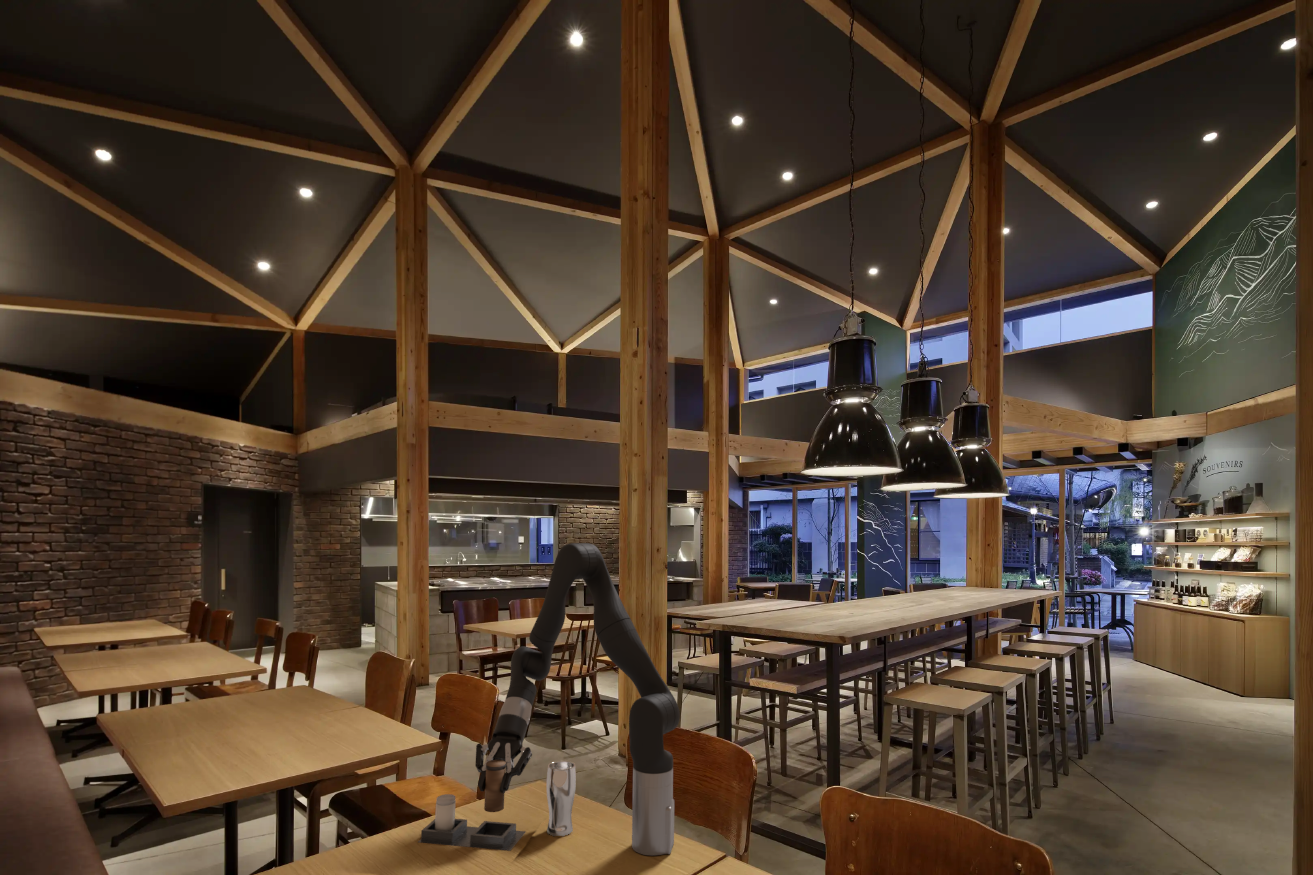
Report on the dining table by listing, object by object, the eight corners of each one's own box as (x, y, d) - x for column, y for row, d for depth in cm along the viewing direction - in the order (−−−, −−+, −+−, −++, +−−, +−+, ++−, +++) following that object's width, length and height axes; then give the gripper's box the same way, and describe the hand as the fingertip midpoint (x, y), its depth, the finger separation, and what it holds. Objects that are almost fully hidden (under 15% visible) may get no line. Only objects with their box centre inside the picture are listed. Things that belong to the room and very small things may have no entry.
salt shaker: (457, 830, 164) (459, 794, 165) (448, 838, 160) (450, 801, 161) (439, 829, 165) (441, 793, 166) (430, 837, 161) (432, 800, 162)
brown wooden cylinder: (507, 805, 163) (508, 760, 164) (499, 812, 159) (501, 766, 160) (488, 803, 164) (490, 758, 165) (480, 811, 160) (482, 765, 161)
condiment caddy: (525, 835, 164) (526, 822, 165) (510, 855, 155) (510, 840, 155) (438, 828, 168) (438, 814, 168) (417, 846, 158) (418, 832, 159)
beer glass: (577, 825, 170) (578, 760, 172) (570, 838, 163) (572, 770, 165) (549, 824, 171) (551, 759, 173) (541, 836, 164) (543, 769, 166)
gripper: (482, 710, 172) (457, 780, 159) (537, 714, 170) (517, 785, 157) (489, 727, 177) (466, 795, 164) (544, 730, 174) (525, 801, 161)
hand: (491, 790), depth 160 cm, fingers closed on brown wooden cylinder, 4 cm apart
